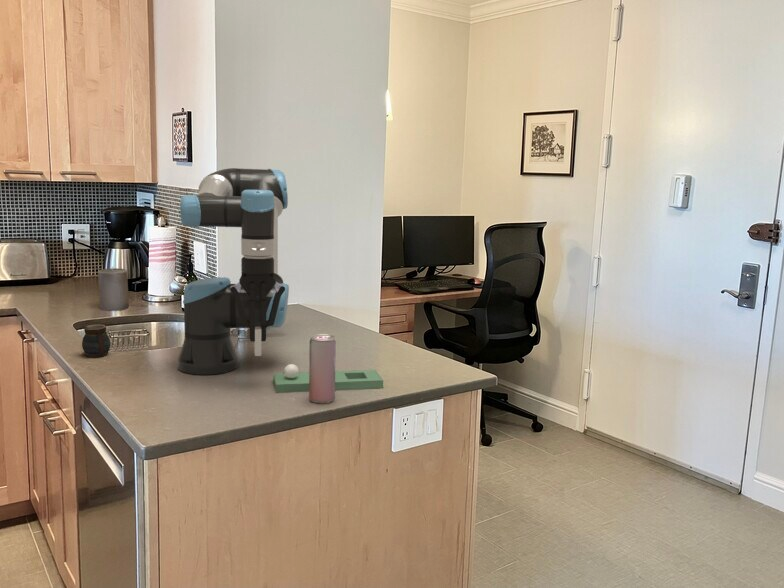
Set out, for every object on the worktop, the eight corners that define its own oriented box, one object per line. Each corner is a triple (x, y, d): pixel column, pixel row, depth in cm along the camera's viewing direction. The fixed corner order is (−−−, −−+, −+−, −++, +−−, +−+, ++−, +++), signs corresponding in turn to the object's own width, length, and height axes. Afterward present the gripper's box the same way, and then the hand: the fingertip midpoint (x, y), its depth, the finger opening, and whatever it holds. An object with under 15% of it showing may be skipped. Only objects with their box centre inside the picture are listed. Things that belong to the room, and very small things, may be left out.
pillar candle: (118, 304, 258) (116, 263, 255) (134, 307, 252) (132, 266, 249) (94, 308, 250) (91, 266, 247) (110, 312, 245) (107, 270, 242)
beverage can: (309, 395, 165) (310, 333, 162) (334, 395, 165) (335, 334, 163) (308, 404, 159) (309, 340, 156) (334, 404, 159) (336, 340, 157)
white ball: (284, 380, 169) (284, 366, 168) (283, 376, 172) (283, 362, 171) (299, 380, 170) (299, 366, 169) (297, 375, 173) (297, 362, 172)
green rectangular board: (276, 392, 166) (276, 384, 166) (273, 381, 175) (273, 373, 174) (382, 388, 172) (383, 380, 172) (375, 377, 181) (375, 369, 180)
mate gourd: (115, 355, 192) (114, 320, 190) (88, 360, 187) (86, 324, 185) (104, 349, 197) (102, 315, 195) (76, 354, 192) (74, 319, 190)
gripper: (229, 258, 158) (230, 359, 162) (287, 258, 161) (286, 357, 165) (229, 254, 165) (229, 351, 170) (284, 254, 169) (284, 349, 173)
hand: (257, 354), depth 167 cm, fingers closed
